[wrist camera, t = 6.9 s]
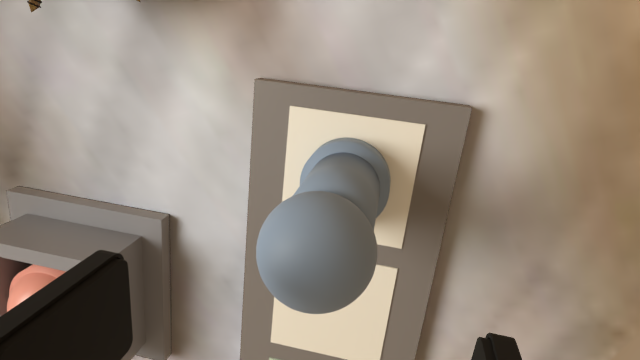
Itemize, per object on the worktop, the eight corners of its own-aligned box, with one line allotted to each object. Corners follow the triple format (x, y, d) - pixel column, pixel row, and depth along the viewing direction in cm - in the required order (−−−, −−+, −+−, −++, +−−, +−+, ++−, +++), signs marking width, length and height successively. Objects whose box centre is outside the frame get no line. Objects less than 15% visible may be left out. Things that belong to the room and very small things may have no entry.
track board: (387, 467, 32) (387, 481, 31) (240, 428, 34) (235, 440, 33) (469, 105, 23) (472, 108, 22) (260, 77, 24) (253, 79, 23)
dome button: (127, 321, 31) (71, 377, 26) (56, 305, 32) (-12, 356, 27) (122, 251, 29) (61, 296, 24) (47, 235, 30) (-28, 276, 25)
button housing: (171, 353, 33) (132, 404, 28) (37, 321, 34) (-20, 364, 30) (169, 214, 29) (123, 247, 24) (18, 186, 30) (-52, 211, 26)
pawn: (383, 225, 25) (367, 360, 14) (301, 211, 25) (229, 329, 15) (397, 144, 23) (391, 229, 13) (310, 131, 24) (234, 200, 13)
